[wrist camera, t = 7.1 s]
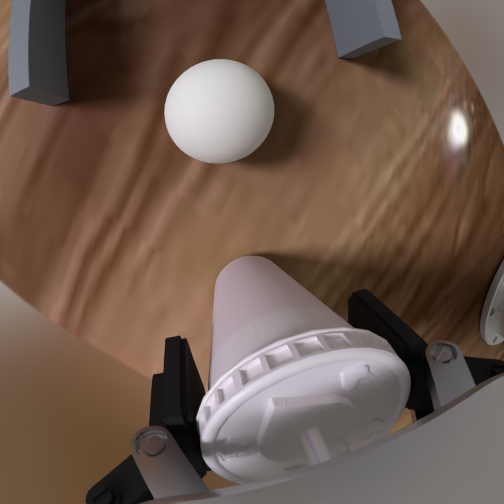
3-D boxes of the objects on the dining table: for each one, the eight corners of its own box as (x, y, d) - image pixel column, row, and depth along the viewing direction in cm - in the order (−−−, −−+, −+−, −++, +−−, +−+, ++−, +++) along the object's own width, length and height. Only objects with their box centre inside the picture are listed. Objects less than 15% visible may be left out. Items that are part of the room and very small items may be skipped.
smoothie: (267, 203, 15) (534, 437, 2) (326, 295, 17) (490, 494, 4) (163, 279, 15) (149, 599, 2) (235, 356, 17) (306, 591, 4)
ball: (253, 68, 13) (278, 40, 9) (266, 153, 15) (296, 156, 11) (162, 82, 13) (151, 56, 8) (176, 169, 14) (171, 178, 10)
